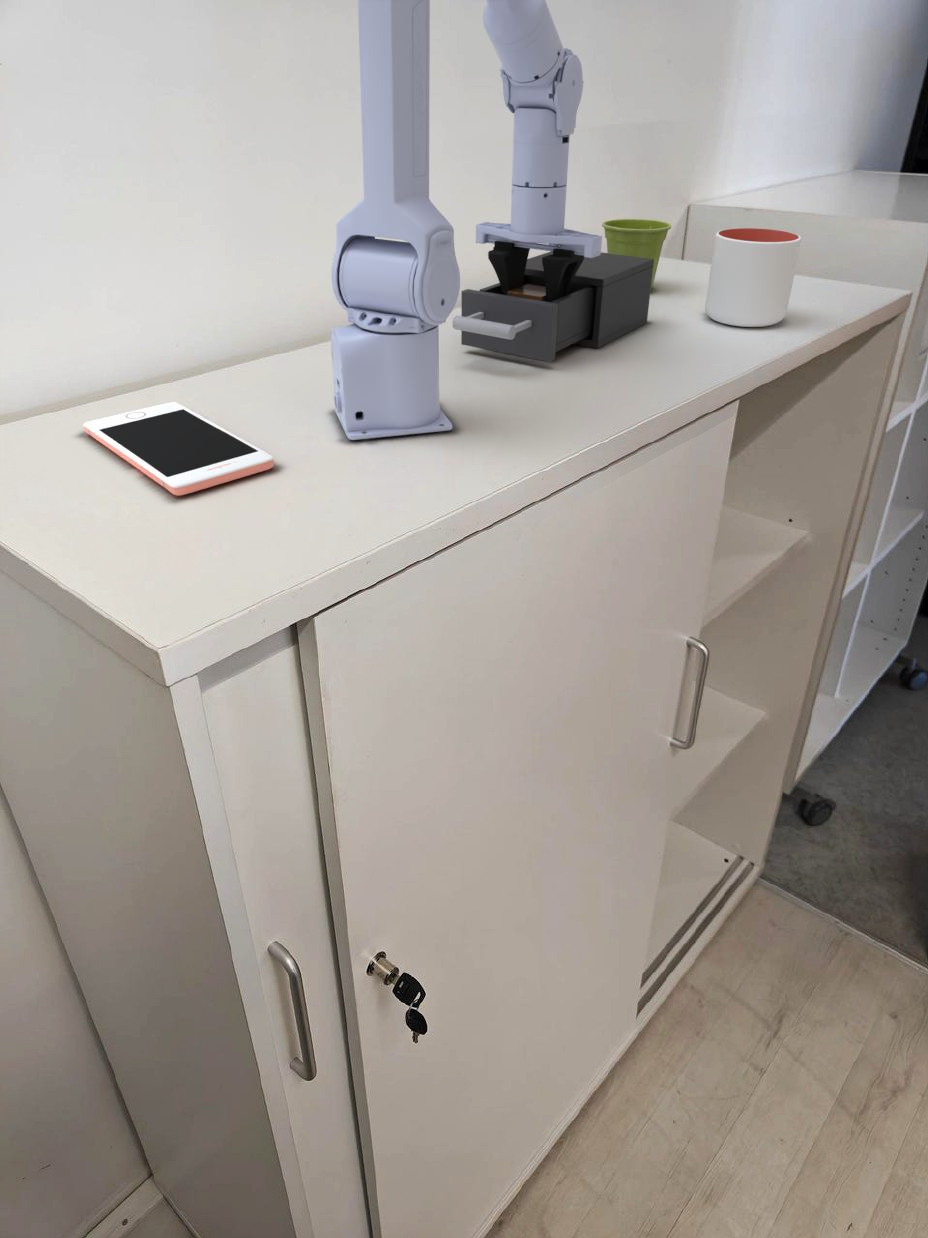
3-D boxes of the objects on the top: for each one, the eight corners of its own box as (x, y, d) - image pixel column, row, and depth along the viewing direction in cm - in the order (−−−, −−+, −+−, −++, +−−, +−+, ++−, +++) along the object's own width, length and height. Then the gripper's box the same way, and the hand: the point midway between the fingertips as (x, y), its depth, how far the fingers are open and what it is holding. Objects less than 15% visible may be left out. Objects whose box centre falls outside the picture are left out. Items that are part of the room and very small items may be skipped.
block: (539, 337, 98) (541, 296, 96) (505, 331, 100) (507, 291, 98) (559, 329, 101) (561, 288, 99) (525, 323, 103) (527, 283, 101)
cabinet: (597, 348, 102) (603, 279, 97) (504, 331, 107) (506, 265, 103) (647, 323, 111) (654, 258, 107) (558, 308, 117) (562, 247, 113)
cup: (788, 331, 108) (806, 244, 102) (704, 327, 109) (717, 240, 104) (780, 311, 116) (796, 229, 111) (702, 307, 118) (714, 226, 112)
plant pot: (586, 284, 129) (591, 219, 124) (644, 280, 131) (651, 216, 127) (614, 298, 121) (620, 230, 117) (675, 294, 124) (684, 227, 119)
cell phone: (176, 410, 84) (174, 400, 83) (277, 467, 72) (275, 457, 72) (83, 432, 79) (81, 422, 78) (176, 498, 67) (174, 486, 67)
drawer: (526, 373, 91) (528, 315, 88) (435, 355, 96) (435, 299, 93) (602, 335, 103) (607, 283, 100) (518, 320, 108) (520, 270, 105)
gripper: (619, 185, 92) (607, 319, 99) (500, 175, 98) (497, 301, 106) (587, 193, 87) (577, 333, 94) (465, 182, 94) (464, 313, 101)
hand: (533, 317), depth 100 cm, fingers closed on block, 4 cm apart
